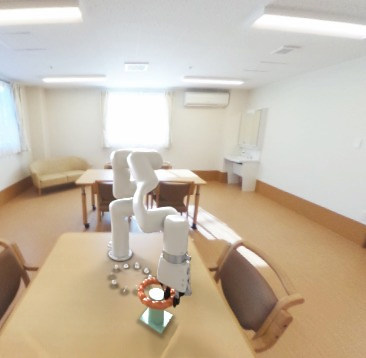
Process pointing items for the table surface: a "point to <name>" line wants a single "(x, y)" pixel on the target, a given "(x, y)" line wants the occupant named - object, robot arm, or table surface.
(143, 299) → the ring
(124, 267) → the game piece set
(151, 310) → the mint knob on plate
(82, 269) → the table surface
